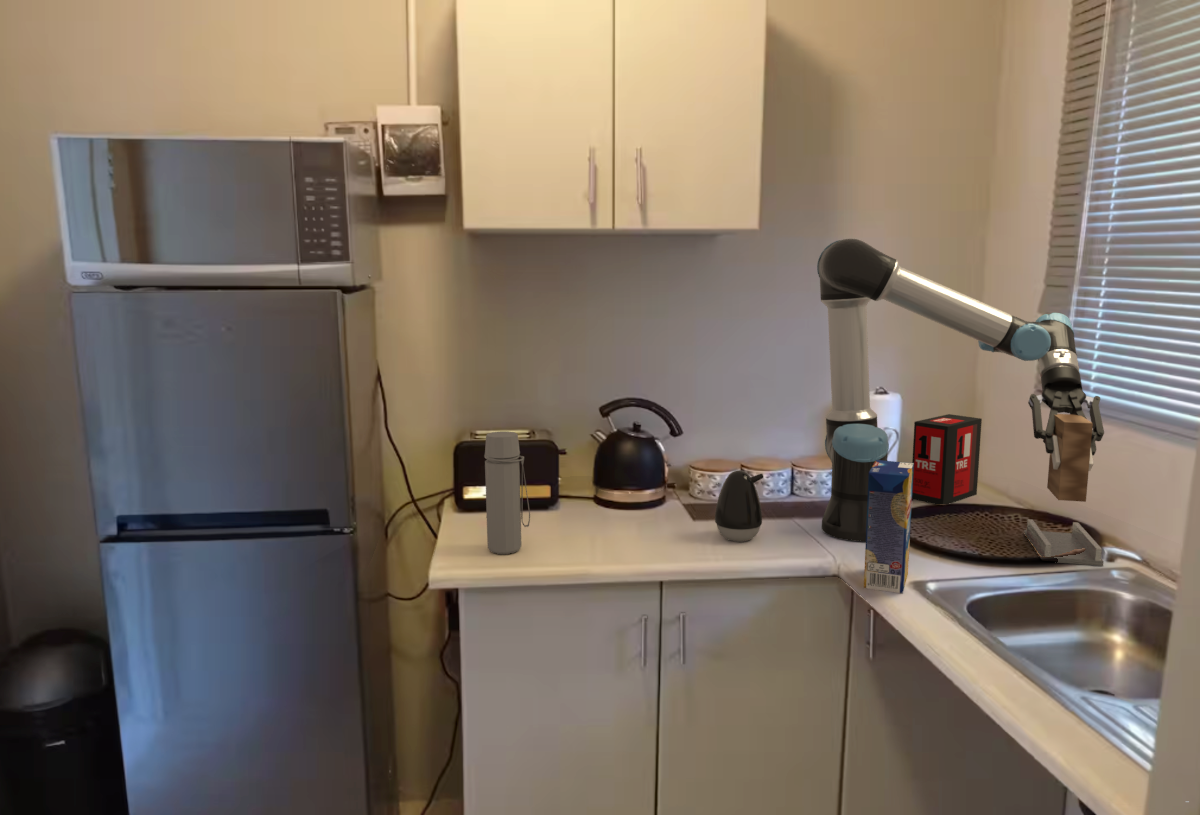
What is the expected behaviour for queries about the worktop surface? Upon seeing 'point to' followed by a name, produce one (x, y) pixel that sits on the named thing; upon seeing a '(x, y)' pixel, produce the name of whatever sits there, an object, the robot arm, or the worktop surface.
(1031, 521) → the floor track
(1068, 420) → the brown wooden block
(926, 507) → the worktop surface
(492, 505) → the water bottle
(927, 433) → the cleaning product box
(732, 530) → the pump dispenser
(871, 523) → the beverage box
